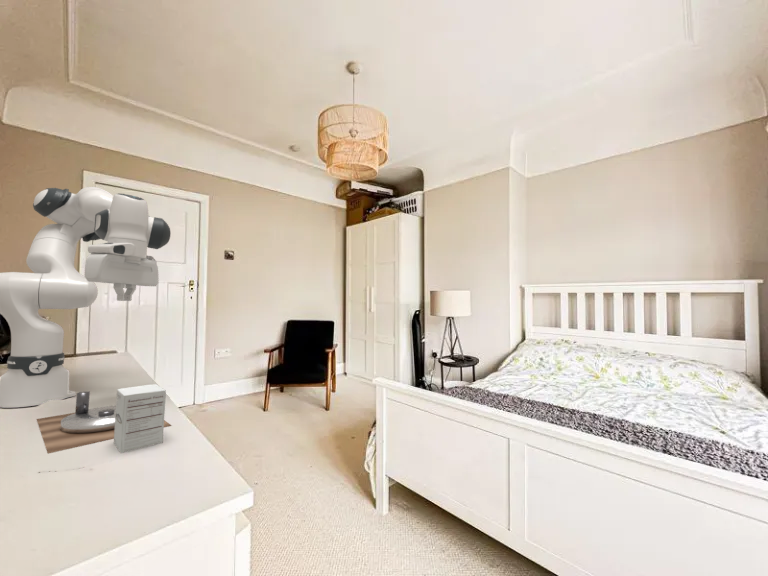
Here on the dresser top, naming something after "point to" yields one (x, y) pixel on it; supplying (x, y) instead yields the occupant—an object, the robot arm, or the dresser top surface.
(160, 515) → the dresser top surface
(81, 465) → the dresser top surface
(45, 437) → the base board
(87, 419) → the dial
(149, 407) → the supplement box
